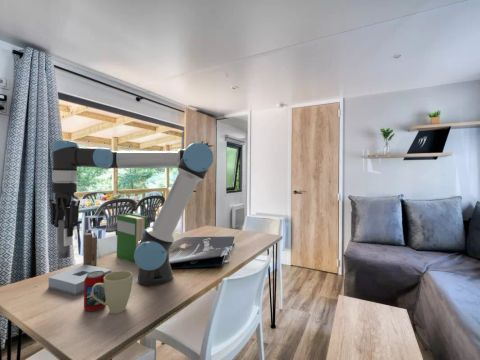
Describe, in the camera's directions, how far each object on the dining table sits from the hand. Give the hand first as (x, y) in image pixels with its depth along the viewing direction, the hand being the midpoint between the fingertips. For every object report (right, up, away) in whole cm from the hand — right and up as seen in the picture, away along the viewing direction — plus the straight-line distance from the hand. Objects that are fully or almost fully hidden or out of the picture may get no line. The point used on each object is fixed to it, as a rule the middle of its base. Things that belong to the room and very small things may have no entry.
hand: (64, 244), depth 91 cm
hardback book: (+4, -20, +47) cm, 51 cm away
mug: (+23, -21, -7) cm, 32 cm away
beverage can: (+15, -21, -5) cm, 26 cm away
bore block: (-2, -20, +13) cm, 24 cm away
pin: (0, -5, 0) cm, 5 cm away
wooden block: (-9, -20, +30) cm, 38 cm away
